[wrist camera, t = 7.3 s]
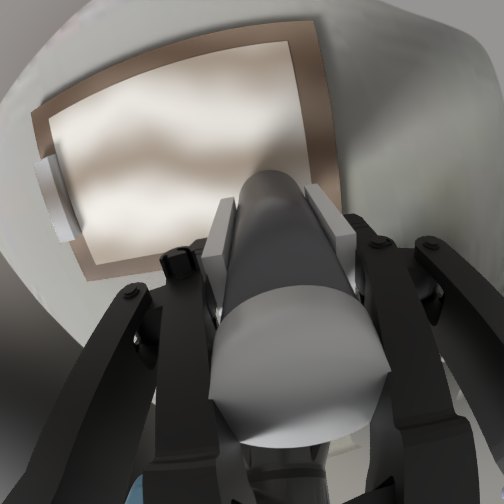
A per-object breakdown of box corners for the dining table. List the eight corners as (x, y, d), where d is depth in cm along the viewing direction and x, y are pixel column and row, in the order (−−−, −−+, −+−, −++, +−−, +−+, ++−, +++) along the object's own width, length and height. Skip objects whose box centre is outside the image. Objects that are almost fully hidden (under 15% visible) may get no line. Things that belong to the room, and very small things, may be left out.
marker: (306, 225, 18) (379, 430, 6) (244, 235, 19) (231, 452, 6) (298, 163, 16) (418, 333, 4) (231, 174, 17) (172, 371, 4)
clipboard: (339, 235, 21) (347, 248, 19) (91, 275, 23) (81, 289, 21) (310, 24, 13) (317, 14, 11) (38, 111, 15) (21, 114, 13)
